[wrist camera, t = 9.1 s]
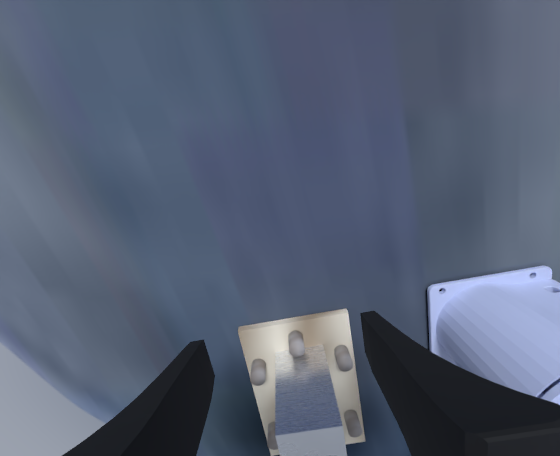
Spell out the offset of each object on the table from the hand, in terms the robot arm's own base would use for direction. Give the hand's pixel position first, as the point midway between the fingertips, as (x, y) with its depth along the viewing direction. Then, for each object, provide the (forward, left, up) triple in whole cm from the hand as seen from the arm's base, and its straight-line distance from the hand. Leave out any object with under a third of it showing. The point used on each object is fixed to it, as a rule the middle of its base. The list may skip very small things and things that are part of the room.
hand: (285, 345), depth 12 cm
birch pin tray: (0, +12, -9) cm, 15 cm away
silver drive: (0, +12, -9) cm, 15 cm away
